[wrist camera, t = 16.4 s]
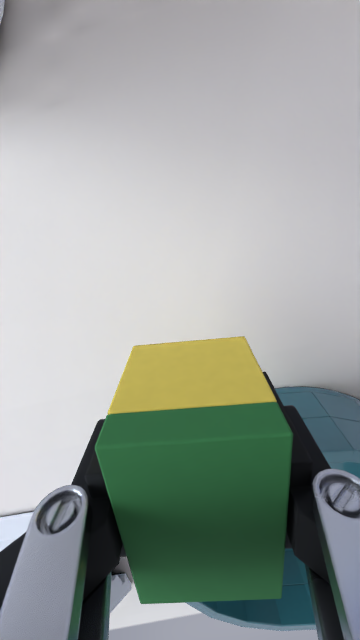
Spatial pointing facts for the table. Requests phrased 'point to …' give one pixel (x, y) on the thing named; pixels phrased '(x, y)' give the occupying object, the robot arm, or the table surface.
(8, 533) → the crown molding
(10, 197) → the table surface
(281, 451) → the sponge
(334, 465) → the bowl
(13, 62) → the table surface
